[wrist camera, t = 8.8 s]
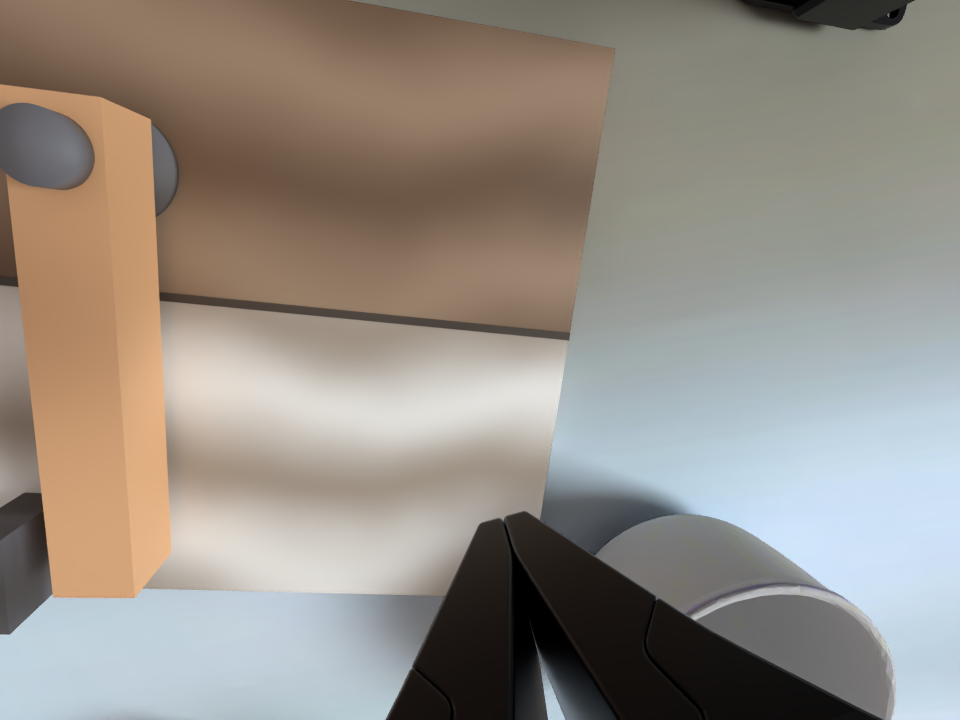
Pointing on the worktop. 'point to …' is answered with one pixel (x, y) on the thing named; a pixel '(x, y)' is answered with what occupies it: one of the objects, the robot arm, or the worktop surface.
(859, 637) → the teacup
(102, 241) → the bar
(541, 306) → the door and jamb
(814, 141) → the worktop surface
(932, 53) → the worktop surface
